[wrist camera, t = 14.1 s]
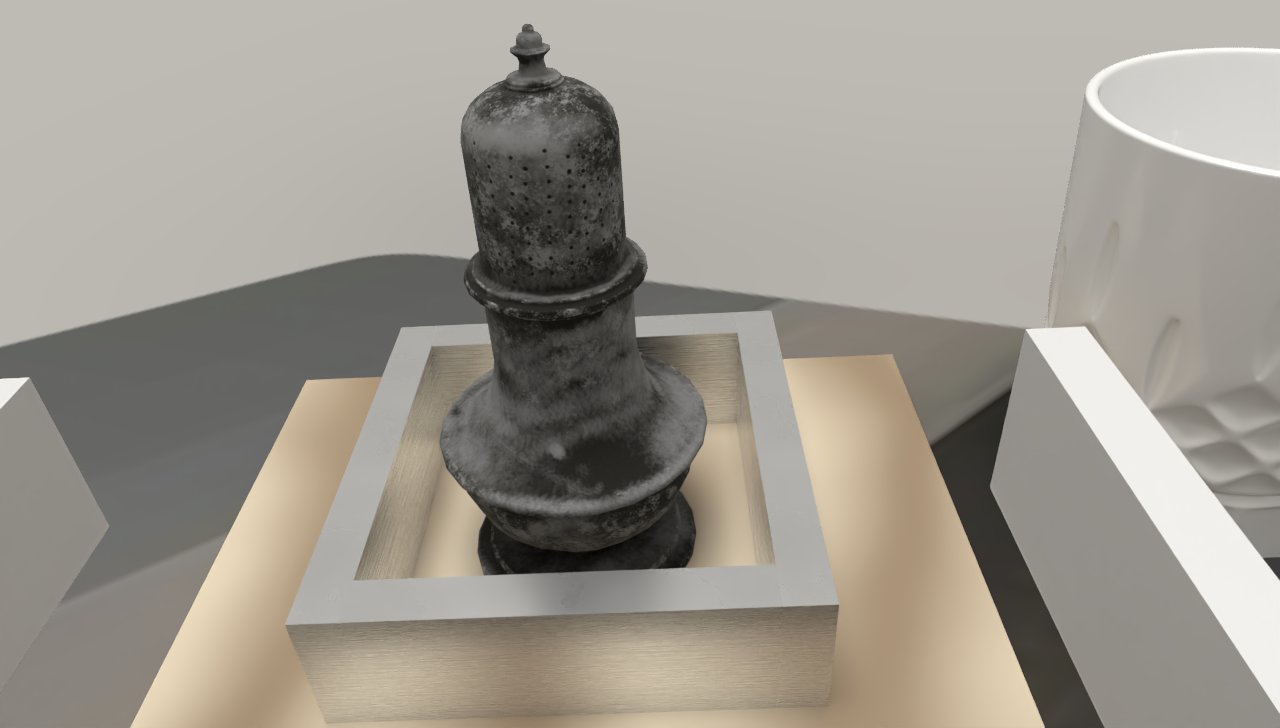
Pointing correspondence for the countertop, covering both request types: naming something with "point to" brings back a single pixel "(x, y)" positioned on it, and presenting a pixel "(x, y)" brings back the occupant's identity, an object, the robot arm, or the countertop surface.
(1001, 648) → the flange board
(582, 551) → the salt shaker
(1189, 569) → the robot arm
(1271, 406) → the white cup
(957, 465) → the countertop surface
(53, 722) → the countertop surface
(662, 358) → the collar
